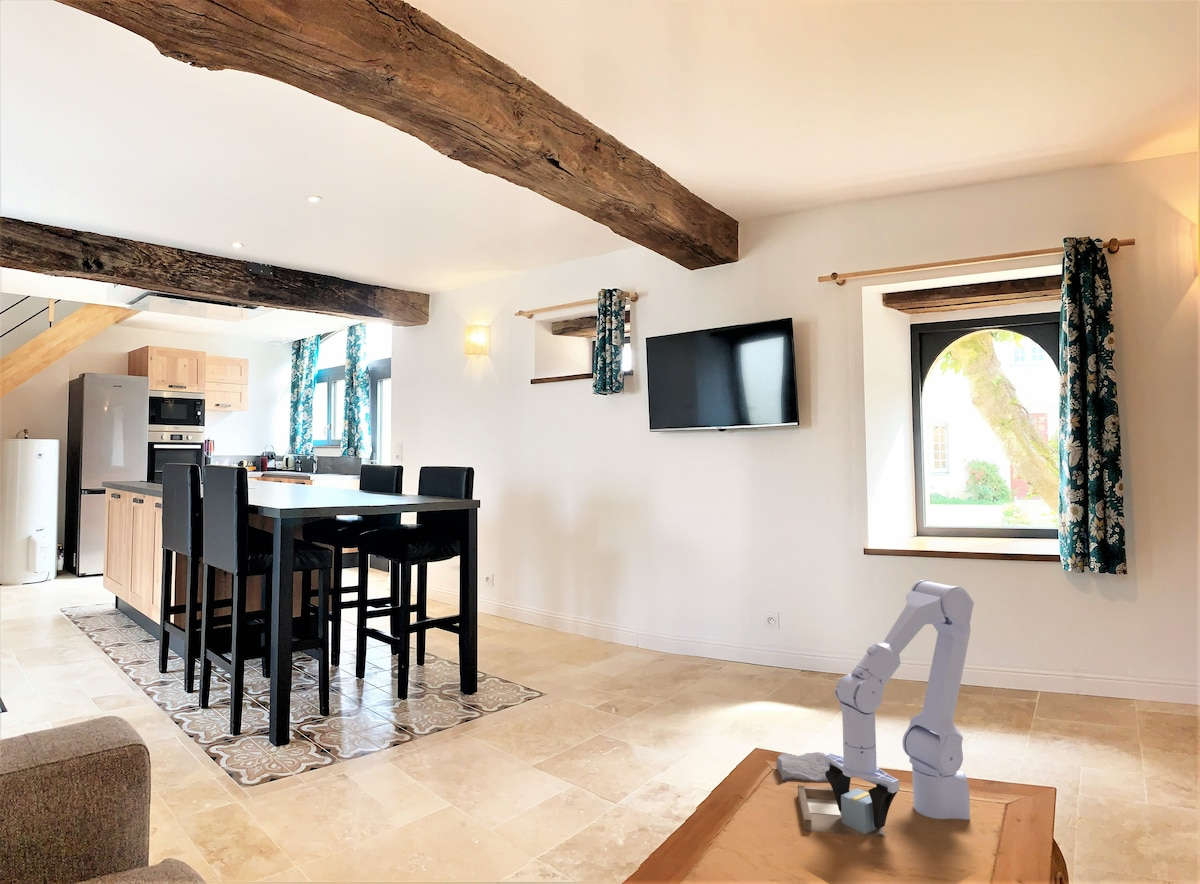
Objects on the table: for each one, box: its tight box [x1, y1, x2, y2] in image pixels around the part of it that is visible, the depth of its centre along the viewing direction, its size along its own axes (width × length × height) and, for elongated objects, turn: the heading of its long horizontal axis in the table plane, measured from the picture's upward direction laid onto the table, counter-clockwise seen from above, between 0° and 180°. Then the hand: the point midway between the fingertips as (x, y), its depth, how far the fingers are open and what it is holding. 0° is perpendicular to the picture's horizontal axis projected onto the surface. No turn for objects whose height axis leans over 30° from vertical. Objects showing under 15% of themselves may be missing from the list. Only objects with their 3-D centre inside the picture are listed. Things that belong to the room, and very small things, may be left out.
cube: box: [841, 787, 877, 834], centre depth 130 cm, size 5×5×5 cm
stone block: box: [776, 751, 830, 783], centre depth 152 cm, size 12×5×10 cm
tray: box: [797, 785, 887, 838], centre depth 133 cm, size 14×14×3 cm
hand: (861, 818), depth 129 cm, fingers open, 7 cm apart
